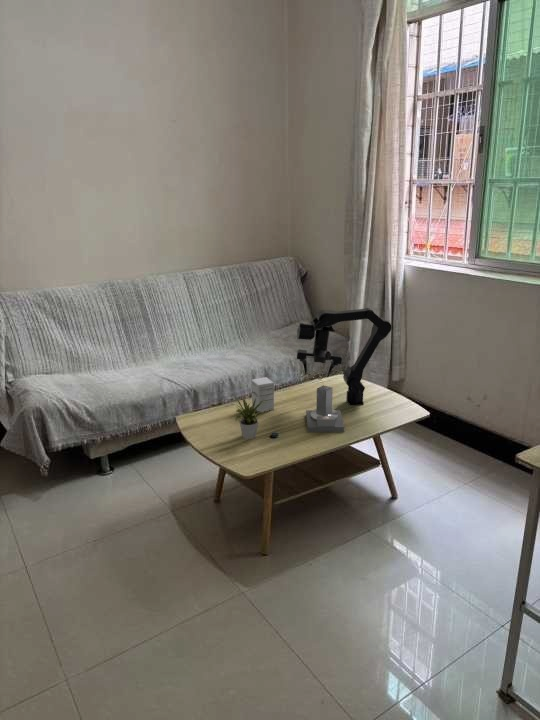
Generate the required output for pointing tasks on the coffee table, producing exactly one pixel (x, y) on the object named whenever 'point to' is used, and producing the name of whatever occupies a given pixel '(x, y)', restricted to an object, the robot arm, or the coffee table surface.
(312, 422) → the scale base
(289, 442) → the coffee table surface
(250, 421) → the house plant
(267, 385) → the supplement box
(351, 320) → the robot arm
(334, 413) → the scale pan
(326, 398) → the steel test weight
